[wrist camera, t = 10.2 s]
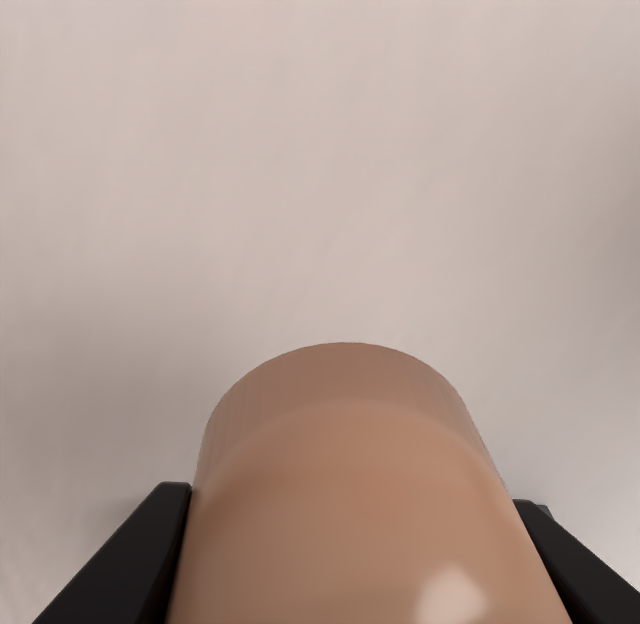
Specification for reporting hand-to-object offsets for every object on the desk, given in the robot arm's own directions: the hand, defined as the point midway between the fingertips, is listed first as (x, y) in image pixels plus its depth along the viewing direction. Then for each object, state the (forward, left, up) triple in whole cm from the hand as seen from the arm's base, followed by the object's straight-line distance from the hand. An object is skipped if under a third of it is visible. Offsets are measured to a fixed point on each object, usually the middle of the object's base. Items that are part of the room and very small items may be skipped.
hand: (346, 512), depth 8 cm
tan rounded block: (0, 0, -1) cm, 1 cm away
